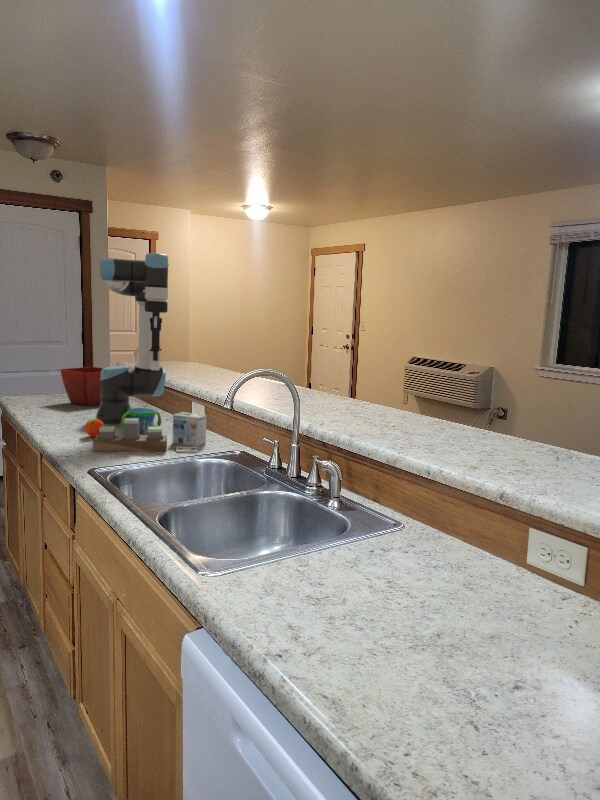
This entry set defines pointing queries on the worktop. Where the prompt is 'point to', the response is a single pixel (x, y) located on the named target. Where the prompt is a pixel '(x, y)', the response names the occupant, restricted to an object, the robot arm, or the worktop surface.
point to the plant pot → (83, 385)
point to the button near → (107, 432)
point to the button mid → (131, 428)
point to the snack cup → (142, 418)
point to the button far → (154, 433)
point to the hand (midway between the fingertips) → (155, 369)
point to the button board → (129, 444)
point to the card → (187, 449)
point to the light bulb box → (189, 428)
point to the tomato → (93, 427)
